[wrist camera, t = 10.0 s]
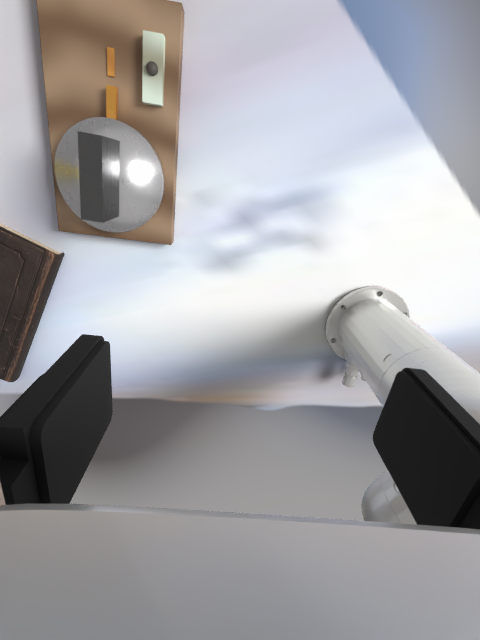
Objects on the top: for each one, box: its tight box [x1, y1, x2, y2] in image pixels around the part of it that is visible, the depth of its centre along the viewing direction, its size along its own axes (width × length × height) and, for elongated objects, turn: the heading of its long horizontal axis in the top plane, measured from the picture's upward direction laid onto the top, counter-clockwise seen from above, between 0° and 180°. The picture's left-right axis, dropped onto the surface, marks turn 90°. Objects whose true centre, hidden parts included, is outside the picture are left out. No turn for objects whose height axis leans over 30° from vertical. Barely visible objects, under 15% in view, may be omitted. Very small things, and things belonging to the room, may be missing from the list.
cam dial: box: [55, 85, 165, 232], centre depth 34 cm, size 15×12×7 cm
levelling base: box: [37, 0, 184, 245], centre depth 36 cm, size 24×14×4 cm, turn 172°
